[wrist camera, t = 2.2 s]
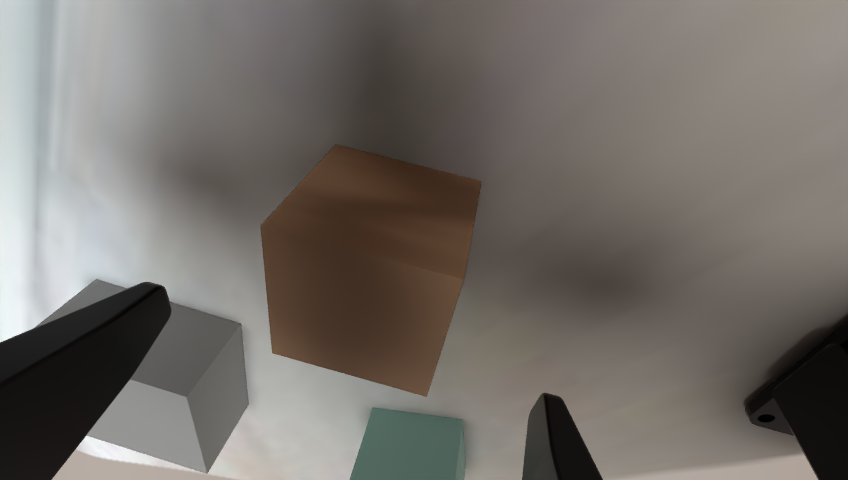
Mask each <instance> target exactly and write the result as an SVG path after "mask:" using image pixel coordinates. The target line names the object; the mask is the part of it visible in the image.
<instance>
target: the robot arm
mask: <svg viewBox="0 0 848 480" xmlns="http://www.w3.org/2000/svg"><path fill="white" fill-rule="evenodd" d="M171 312H172V308H171V305H170V301H169V298H168V295H167V292H166V289H165V287H163V286H162V285H159V284H155V283H151V282H143V283H140V284H138V285H135V286H133V287H131V288H128V289H126V290H124V291H121V292H119V293H116V294H114V295H112V296H109V297H107V298H105V299H102V300H100V301H98V302H95V303H93V304H90V305H88V306H86V307H83V308H81V309H79V310H76V311H74V312H71V313H69V314H67V315H64V316H62V317H60V318H57V319H55V320H53V321H50V322H48V323H45V324H43V325H41V326H38V327H36V328H34V329H31V330H29V331H26V332H24V333H22V334H19V335H17V336H15V337H12V338H10V339H8V340H5V341H3V342H0V480H52V478H53V477H54V476H55V475H56V473H57V472H58V471H59V469H60V468H61V467H62V465H63V464H64V463H65V462H66V461H67V459H68V458H69V457H70V455H71V454H72V453H73V452H74V450H75V449H76V448H77V447H78V445H79V444H80V443H81V441H82V440H83V439H84V438H85V436H86V435H87V434H88V433H89V431H90V430H91V429H92V427H93V426H94V425H95V424H96V422H97V421H98V420H99V419H100V417H101V416H102V415H103V413H104V412H105V411H106V410H107V408H108V407H109V406H110V405H111V403H112V402H113V401H114V399H115V398H116V397H117V396H118V394H119V393H120V392H121V390H122V389H123V388H124V387H125V385H126V384H127V383H128V381H129V380H130V379H131V377H132V376H133V375H134V373H135V372H136V370H137V369H138V367H139V366H140V364H141V363H142V361H143V359H144V358H145V356H146V355H147V353H148V352H149V350H150V348H151V347H152V345H153V344H154V342H155V341H156V339H157V337H158V336H159V334H160V333H161V331H162V330H163V328H164V326H165V325H166V323H167V322H168V320H169V318H170V316H171ZM745 412H746V414H747V416H748V418H749V420H750V422H751V423H752V424H755V425H757V426H761V427H764V428H768V429H772V430H775V431H779V432H783V433H786V434H790V435H793V436H795V438H796V440H797V442H798V443H799V445H800V447H801V449H802V451H803V453H804V454H805V456H806V458H807V460H808V461H809V463H810V465H811V467H812V469H813V471H814V473H815V475H816V476H817V478H818V480H848V322H847V323H846V324H844V325H843V326H842V327H841V328H840V329H838V330H837V331H836V332H835V333H833V334H832V335H831V336H830V337H829V338H827V339H826V340H825V341H824V342H823V343H821V344H820V345H819V346H818V347H816V348H815V349H814V350H813V351H812V352H810V353H809V354H808V355H807V356H805V357H804V358H803V359H802V360H801V361H799V362H798V363H797V364H796V365H795V366H793V367H792V368H791V369H790V370H788V371H787V372H786V373H785V374H784V375H782V376H781V377H780V378H779V379H778V380H776V381H775V382H774V383H773V384H771V385H770V386H769V387H768V388H767V389H765V390H764V391H763V392H762V393H760V394H759V395H758V396H757V397H756V398H754V399H753V400H752V401H751V402H750V403H748V404H747V405H746V407H745ZM522 480H603V479H602V477H601V475H600V473H599V471H598V469H597V467H596V465H595V463H594V461H593V459H592V457H591V455H590V453H589V451H588V449H587V447H586V445H585V443H584V441H583V439H582V437H581V435H580V433H579V431H578V429H577V427H576V425H575V423H574V421H573V419H572V417H571V415H570V413H569V411H568V409H567V407H566V405H565V403H564V401H563V400H562V398H560V397H559V396H556V395H552V394H549V393H542V394H541V395H540V397H539V398H538V400H537V402H536V403H535V405H534V407H533V408H532V410H531V412H530V414H529V418H528V427H527V437H526V447H525V456H524V466H523V476H522Z"/></svg>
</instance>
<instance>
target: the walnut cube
mask: <svg viewBox="0 0 848 480" xmlns="http://www.w3.org/2000/svg"><path fill="white" fill-rule="evenodd" d="M481 182H482V181H478V180H474V179H471V178H467V177H463V176H459V175H455V174H451V173H447V172H443V171H439V170H435V169H431V168H427V167H423V166H419V165H415V164H411V163H407V162H403V161H399V160H395V159H391V158H387V157H383V156H379V155H375V154H371V153H367V152H363V151H359V150H355V149H351V148H347V147H343V146H339V145H335V146H334V147H333V148H332V149H331V150H330V151H329V153H328V154H327V155H326V156H325V157H324V158H323V159H322V160H321V161H320V162H319V163H318V164H317V165H316V167H315V168H314V169H313V170H312V171H311V172H310V173H309V174H308V175H307V176H306V177H305V178H304V179H303V180H302V182H301V183H300V184H299V185H298V186H297V187H296V188H295V189H294V190H293V191H292V192H291V193H290V194H289V196H288V197H287V198H286V199H285V200H284V201H283V202H282V203H281V204H280V205H279V206H278V207H277V208H276V210H275V211H274V212H273V213H272V214H271V215H270V216H269V217H268V218H267V219H266V220H265V221H264V222H263V224H262V225H261V236H262V247H263V258H264V268H265V279H266V290H267V301H268V312H269V323H270V334H271V345H272V353H274V354H277V355H281V356H284V357H288V358H291V359H295V360H299V361H302V362H306V363H309V364H313V365H316V366H320V367H323V368H327V369H330V370H334V371H338V372H341V373H345V374H348V375H352V376H355V377H359V378H362V379H366V380H369V381H373V382H376V383H380V384H384V385H387V386H391V387H394V388H398V389H401V390H405V391H408V392H412V393H415V394H419V395H422V396H426V397H427V394H428V391H429V388H430V385H431V382H432V379H433V376H434V372H435V369H436V366H437V363H438V360H439V357H440V354H441V350H442V347H443V344H444V341H445V338H446V335H447V332H448V328H449V325H450V322H451V319H452V316H453V313H454V310H455V306H456V303H457V300H458V297H459V294H460V291H461V288H462V284H463V281H464V277H465V271H466V266H467V260H468V255H469V249H470V244H471V238H472V232H473V227H474V221H475V216H476V210H477V205H478V199H479V193H480V188H481Z"/></svg>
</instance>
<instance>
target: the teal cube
mask: <svg viewBox="0 0 848 480" xmlns="http://www.w3.org/2000/svg"><path fill="white" fill-rule="evenodd" d="M464 476H465V449H464V432H463V420H461V419H454V418H447V417H439V416H432V415H424V414H417V413H409V412H402V411H395V410H387V409H380V408H373V409H372V412H371V415H370V418H369V421H368V425H367V428H366V431H365V434H364V437H363V440H362V443H361V446H360V449H359V452H358V455H357V459H356V462H355V465H354V468H353V471H352V474H351V477H350V480H464Z"/></svg>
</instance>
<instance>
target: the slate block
mask: <svg viewBox="0 0 848 480" xmlns="http://www.w3.org/2000/svg"><path fill="white" fill-rule="evenodd" d="M126 289H127V288H123V287H120V286H117V285H114V284H110V283H107V282H104V281H101V280H97V279H96V280H94V281H93V282H92V283H91V284H89V285H88V286H87V287H86V288H84V289H83V290H82V291H81V292H79V293H78V294H77V295H75V296H74V297H73V298H72V299H70V300H69V301H68V302H67V303H65V304H64V305H63V306H62V307H60V308H59V309H58V310H56V311H55V312H54V313H53V314H51V315H50V316H49V317H48V318H46V319H45V320H44V321H42V322H41V323H40V324H39V325H37V326H36V327H38V326H41V325H43V324H45V323H48V322H50V321H53V320H55V319H57V318H60V317H62V316H64V315H67V314H69V313H71V312H74V311H76V310H79V309H81V308H83V307H86V306H88V305H90V304H93V303H95V302H98V301H100V300H102V299H105V298H107V297H109V296H112V295H114V294H116V293H119V292H121V291H124V290H126ZM170 305H171V308H172V312H171V316H170V318H169V320H168V322H167V323H166V325H165V326H164V328H163V330H162V331H161V333H160V334H159V336H158V337H157V339H156V341H155V342H154V344H153V345H152V347H151V348H150V350H149V352H148V353H147V355H146V356H145V358H144V359H143V361H142V363H141V364H140V366H139V367H138V369H137V370H136V372H135V373H134V375H133V376H132V377H131V379H130V380H129V381H128V383H127V384H126V385H125V387H124V388H123V389H122V390H121V392H120V393H119V394H118V396H117V397H116V398H115V399H114V401H113V402H112V403H111V405H110V406H109V407H108V408H107V410H106V411H105V412H104V413H103V415H102V416H101V417H100V419H99V420H98V421H97V422H96V424H95V425H94V426H93V427H92V429H91V430H90V431H89V433H88V434H87V436H90V437H93V438H96V439H99V440H103V441H106V442H109V443H112V444H115V445H118V446H121V447H125V448H128V449H131V450H134V451H137V452H140V453H143V454H146V455H150V456H153V457H156V458H159V459H162V460H165V461H168V462H172V463H175V464H178V465H181V466H184V467H187V468H190V469H194V470H197V471H200V472H203V473H206V474H207V473H208V472H209V470H210V468H211V467H212V465H213V463H214V462H215V460H216V458H217V456H218V455H219V453H220V451H221V450H222V448H223V446H224V445H225V443H226V441H227V440H228V438H229V436H230V435H231V433H232V431H233V430H234V428H235V426H236V425H237V423H238V421H239V420H240V418H241V416H242V415H243V413H244V411H245V409H246V408H247V406H248V404H249V403H248V393H247V382H246V372H245V361H244V351H243V340H242V330H241V324H240V323H237V322H234V321H230V320H227V319H224V318H221V317H217V316H214V315H211V314H208V313H204V312H201V311H198V310H195V309H191V308H188V307H185V306H182V305H178V304H175V303H172V302H170ZM36 327H35V328H36Z"/></svg>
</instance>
